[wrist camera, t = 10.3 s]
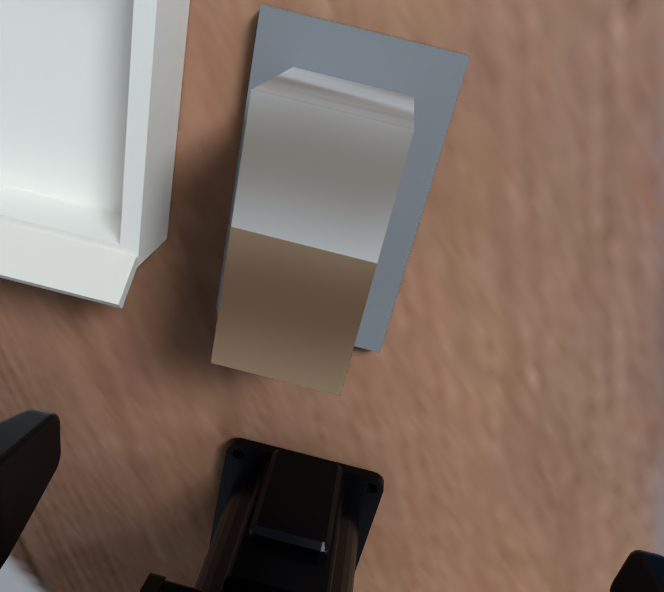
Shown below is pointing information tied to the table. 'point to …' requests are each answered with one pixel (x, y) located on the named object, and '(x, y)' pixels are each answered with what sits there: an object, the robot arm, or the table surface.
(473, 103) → the table surface
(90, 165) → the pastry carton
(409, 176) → the slate mat
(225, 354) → the walnut box
